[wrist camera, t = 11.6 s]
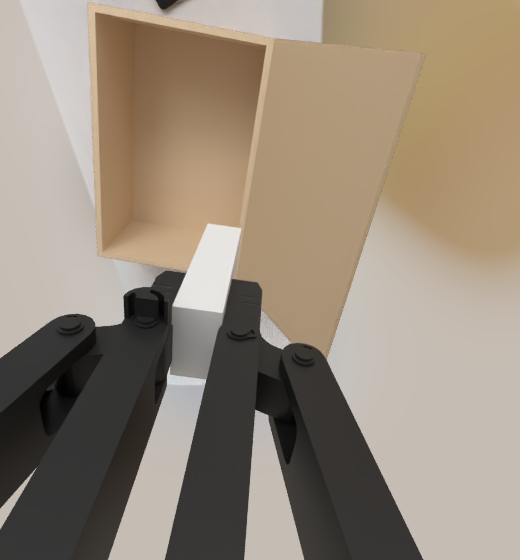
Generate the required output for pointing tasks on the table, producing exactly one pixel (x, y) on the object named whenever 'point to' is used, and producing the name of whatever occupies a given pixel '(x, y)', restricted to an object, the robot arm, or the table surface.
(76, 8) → the table surface
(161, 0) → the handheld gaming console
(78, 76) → the table surface
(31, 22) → the table surface
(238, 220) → the carton
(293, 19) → the table surface
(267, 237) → the carton lid
